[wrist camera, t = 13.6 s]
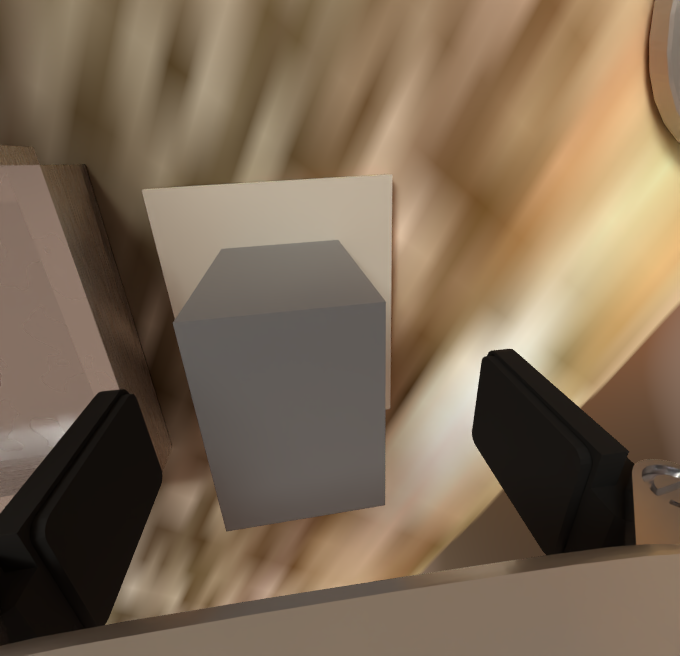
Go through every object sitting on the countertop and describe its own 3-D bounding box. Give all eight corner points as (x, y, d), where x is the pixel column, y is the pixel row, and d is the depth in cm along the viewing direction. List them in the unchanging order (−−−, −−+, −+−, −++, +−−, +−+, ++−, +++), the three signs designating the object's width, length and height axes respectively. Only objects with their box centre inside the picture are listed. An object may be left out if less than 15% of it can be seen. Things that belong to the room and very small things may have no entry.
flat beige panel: (388, 174, 16) (392, 174, 15) (387, 402, 21) (390, 408, 20) (146, 188, 15) (141, 189, 14) (206, 426, 20) (204, 434, 19)
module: (338, 239, 16) (385, 301, 9) (344, 375, 19) (384, 505, 12) (221, 248, 16) (172, 322, 8) (246, 387, 19) (226, 531, 11)
